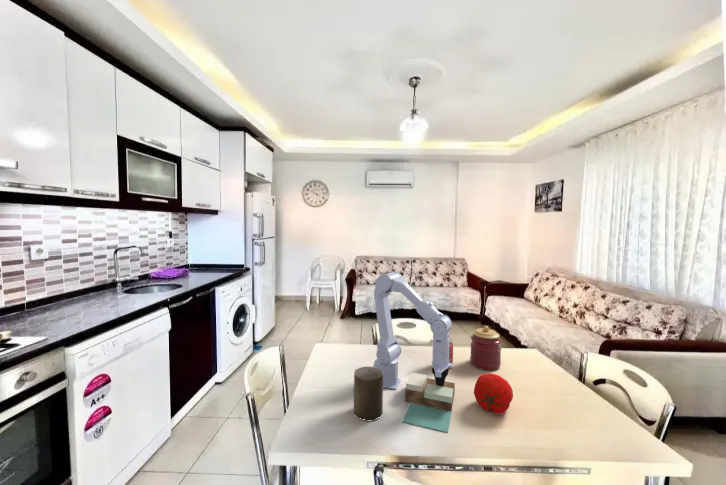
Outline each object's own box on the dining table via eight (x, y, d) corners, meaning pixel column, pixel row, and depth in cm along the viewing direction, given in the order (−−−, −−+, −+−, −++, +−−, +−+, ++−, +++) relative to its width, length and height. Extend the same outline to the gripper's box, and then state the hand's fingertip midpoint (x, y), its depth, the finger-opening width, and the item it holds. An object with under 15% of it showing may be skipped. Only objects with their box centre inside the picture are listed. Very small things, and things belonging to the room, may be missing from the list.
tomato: (490, 405, 114) (482, 425, 103) (471, 372, 117) (461, 388, 106) (523, 396, 108) (518, 416, 97) (502, 361, 111) (495, 377, 100)
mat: (402, 422, 99) (402, 421, 99) (409, 403, 109) (409, 403, 109) (447, 433, 94) (448, 432, 94) (451, 412, 104) (451, 411, 104)
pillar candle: (378, 424, 98) (379, 377, 97) (349, 418, 101) (350, 372, 100) (385, 407, 107) (386, 364, 107) (358, 402, 110) (359, 360, 110)
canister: (471, 369, 137) (472, 329, 136) (468, 357, 149) (469, 320, 148) (503, 372, 134) (504, 332, 133) (497, 359, 146) (498, 322, 145)
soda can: (439, 361, 144) (440, 336, 143) (454, 365, 140) (455, 339, 139) (433, 367, 138) (434, 340, 138) (449, 371, 134) (449, 344, 134)
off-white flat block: (422, 392, 110) (422, 386, 109) (405, 388, 112) (405, 383, 112) (426, 380, 118) (426, 375, 118) (411, 377, 120) (411, 372, 120)
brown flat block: (405, 401, 111) (405, 390, 111) (412, 385, 122) (412, 375, 122) (451, 411, 105) (451, 399, 105) (454, 393, 116) (454, 383, 116)
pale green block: (424, 397, 106) (424, 391, 106) (427, 389, 112) (427, 383, 112) (451, 403, 103) (451, 397, 103) (453, 394, 109) (453, 388, 108)
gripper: (450, 360, 102) (449, 400, 103) (454, 345, 116) (453, 380, 116) (429, 357, 105) (428, 396, 105) (434, 342, 118) (434, 377, 119)
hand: (440, 388), depth 111 cm, fingers closed
